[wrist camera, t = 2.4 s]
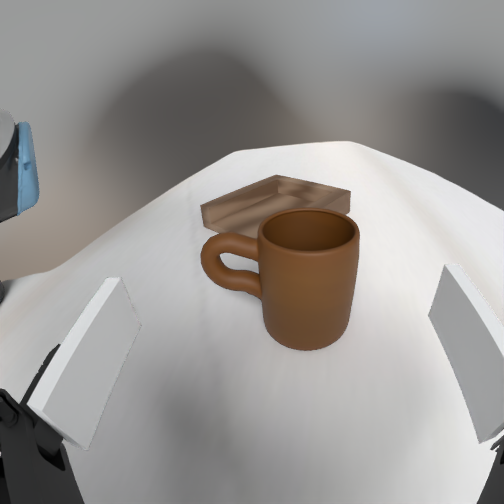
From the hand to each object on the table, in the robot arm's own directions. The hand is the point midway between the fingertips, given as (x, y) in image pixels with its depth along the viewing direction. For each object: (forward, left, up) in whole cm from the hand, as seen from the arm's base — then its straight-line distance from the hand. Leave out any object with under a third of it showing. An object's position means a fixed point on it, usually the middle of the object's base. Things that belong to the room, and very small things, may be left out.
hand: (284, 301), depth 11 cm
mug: (-7, +8, -12) cm, 15 cm away
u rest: (-21, +24, -11) cm, 34 cm away
